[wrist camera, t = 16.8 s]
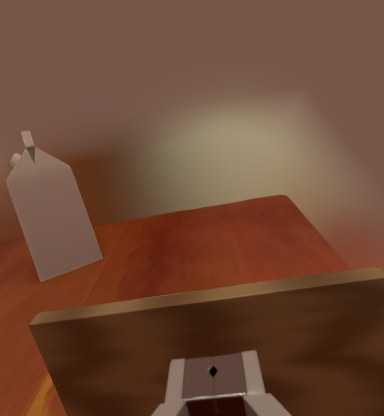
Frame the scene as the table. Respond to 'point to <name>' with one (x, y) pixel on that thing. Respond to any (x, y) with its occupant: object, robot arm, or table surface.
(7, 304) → the table surface
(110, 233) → the table surface
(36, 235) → the milk
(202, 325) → the drawer
